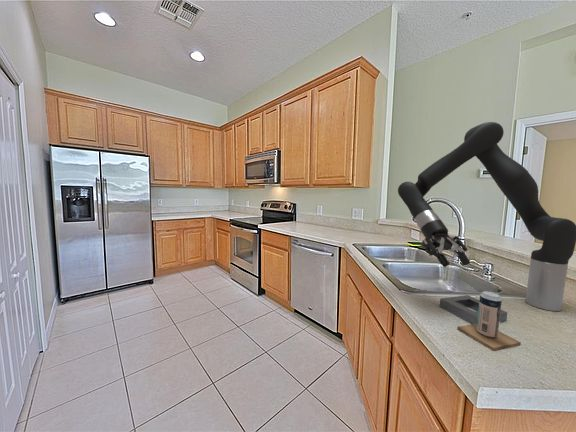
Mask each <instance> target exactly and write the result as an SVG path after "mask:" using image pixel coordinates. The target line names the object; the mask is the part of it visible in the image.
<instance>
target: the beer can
mask: <svg viewBox="0 0 576 432" xmlns="http://www.w3.org/2000/svg"><path fill="white" fill-rule="evenodd" d="M479 300H480V301H479V310H478V319H477V328H476V329H477V331H478V332H479V333H481V334H482V335H484V336H487V337H497V336H498V331H499V325H500V322H499V319H500V311H501V310H502V302H503V298H502V297H501V295H500V293H497V292H493V291H489V290H488V291H487V290H483V291H482V292H481V293H480V295H479Z"/></svg>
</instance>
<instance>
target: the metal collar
mask: <svg viewBox="0 0 576 432" xmlns="http://www.w3.org/2000/svg"><path fill="white" fill-rule="evenodd" d="M439 299H440V300H439V308H442V309H444V310H446V311H447V312H449V313H451V314H453V315H455V316H457V317H459V318H460V319H462V320H464V321H466V322H467V323H469V324H470V325H471V324H477V319H478V310H479V301H480V299H477V298H476V297H473V296H471V295H468V294H467V295H466V294H465V295H457V296H450V297H442V298H441V297H440V298H439ZM507 319H508V312H507V311H506V310H504V309H501V311H500V319H499V323H502V322H507Z"/></svg>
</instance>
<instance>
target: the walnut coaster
mask: <svg viewBox="0 0 576 432" xmlns="http://www.w3.org/2000/svg"><path fill="white" fill-rule="evenodd" d="M476 328H477V324H471V323H470V324H466V325H460V326H457V329H456V330H458V331H459V332H461V333H463V334H465V335H466V336H468V337H470V338H471V339H473V340H474V341H476V342H478V343H480V344H481V345H483V346H484V347H485V348H488V349H489V350H491V351H500V350H503V349H510V348H513V347H518V346H521V345H522V343H521V341H519V340H517V339H515V338H513V337H512V336H509V335H507V334H505V333H503V332H502V331H500V330H498V336H497V337H487V336H484V335H482V334H481V333H479V332H478V331H477V329H476Z"/></svg>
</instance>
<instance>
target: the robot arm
mask: <svg viewBox="0 0 576 432" xmlns="http://www.w3.org/2000/svg"><path fill="white" fill-rule="evenodd" d="M503 136H504V128H503V126H502V125H501V124H500V123H498V122H495V121H487V122H483V123H481V124H478V125H476V126H473V127H471V128H470V129H468V131H467V132H466V133H465V135H464V138H463V140H464V141H463V142H462V143H461V144H460V145H458V146H457V147H456V148H454V149H453V150H452V151H450V152H449V153H447V154H446V155H444V156H442V157H441V158H439V159H438V160H436V161H435V162H433V163H432V164H431V165H428V167H426V168H425V169H424V170H423V171H422V172H420V173H419V174H418V175H417V181H416V182H415V183H414V182H412V181H403V182H402V183H401V184H400V185H399V186H398V187H397V193H398V196H399V197H400V198H401V200H402V201H403V203H404V204H405V205H406V207H407V209H408V210H409V213H410V214H411V216H412V218H413V219H414V221H415V223H416V225H417V227H418V229H419V230H420V232H421V234H422V236H424V239H423V240H422V241H421V242H422V244H423V247H424V248H425V249H426V252H427V253H428V255H429V256H430V257H433V256H434V257H435V258H437V260H438V262H439V264H441V266H442V267H443V268H445V267H448V266H449V265H450V264H451V263H450V262H449V260H448V258H447V257H446V255H445V254H444V253H443V251H448V252H450V253H453V254H455V255H456V256H457V258H458V259H459V261H460V263H461V264H462V265H463V266H467V265H469V264H470V263H471V260H470V259H469V258H468V256H467V255H466V253H465V252H467V251H468V248H467V246H466V245H465V244H464V243H463V241H462V240H461V239H460V238H459V237H458V236H457V235H455V236H454V237H451V236H450V235H449V229H448V228H447V226H446V225H445V224H444V222H443V220H442V219H441V218H440V216H439V215H438V214H437V213H436V212H435V211H434V209H433V208H432V206H431V205H430V204H429V203H428V201H427V200H426V199H425V198H424V197H425V196H426V195H427V194H428V192H430V190H431V189H432V188H433V187H435V186H436V185H437V184H438V183H439V182H441V181H442V180H444V179H445V178H446V177H448V176H449V175H451V173H454V171H455V170H457V169H459V168H460V167H461V166H462V165H463V164H465V163H467V162H469V161H470V160H471V159H472V158H474V157H476V159H478V160H479V162H480V163H481V164H482V165H483V166H484V168H485V169H486V171H487V173H488V174H489V176H490V177H491V178H492V180H493V181H494V182H495V184H496V186H497V187H498V188H499V189H500V192H502V193H503V195H504V196H505V198H507V200H508V201H509V203H510V205H512V207H513V209H515V210H516V212H517V213H518V215H519V217H520V218H521V221H522V222H523V224H524V226H525V228H526V229H527V231H528V233H530V236H532V237H533V238H534V239H536V240H539V241H542V245H541V248H539V249H535V250H532V251H531V253H530V261H529V262H530V264H529V269H528V270H529V271H528V278H527V284H526V286H527V287H526V290H525V291H526V292H525V303H527V304H528V305H530V306H533V307H535V308H537V309H541V310H545V311H546V310H547V311H550V312H551V311H552V312H560V311H562V308H563V301H564V295H565V294H564V293H565V287H566V280H567V273H568V266H569V261H570V259H571V258H572V257H573V255H574V253H575V249H576V248H575V247H576V223H575V222H573V221H572V220H570V219H568V218H562V217H554V216H551V215H549V213H547V211H546V210H545V208H543V206H542V205H541V203H540V201H539V199H540V198H539V188H538V187H539V186H538V184H537V182H536V180H535V179H534V178H533V176H532V175H531V174H530V172H529V171H528V170H527V169H526V168H525V167H524V166H523V165H522V164H520V163H519V162H517V161H516V160H514V159H513V158H512V157H511V156H508V155H507V154H506V153H505V152H503V150H502V149H501V147H500V146H499V145H498V143H500V142H501V140H502V138H504V137H503Z"/></svg>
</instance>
